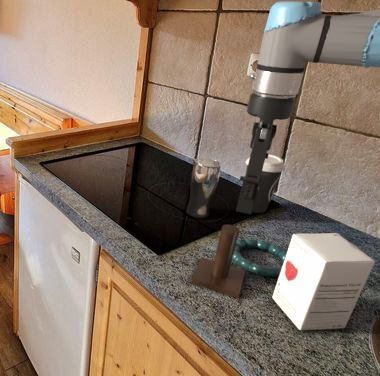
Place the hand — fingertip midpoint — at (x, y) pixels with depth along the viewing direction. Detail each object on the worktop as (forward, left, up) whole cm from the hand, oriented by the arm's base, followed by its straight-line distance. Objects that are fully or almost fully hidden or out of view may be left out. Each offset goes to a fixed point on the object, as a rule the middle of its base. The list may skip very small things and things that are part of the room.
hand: (246, 198), depth 83 cm
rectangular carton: (-15, +9, -17) cm, 24 cm away
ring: (-6, -5, -15) cm, 17 cm away
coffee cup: (-2, -33, -17) cm, 37 cm away
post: (+1, +7, -16) cm, 18 cm away
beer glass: (+11, -21, -17) cm, 29 cm away
